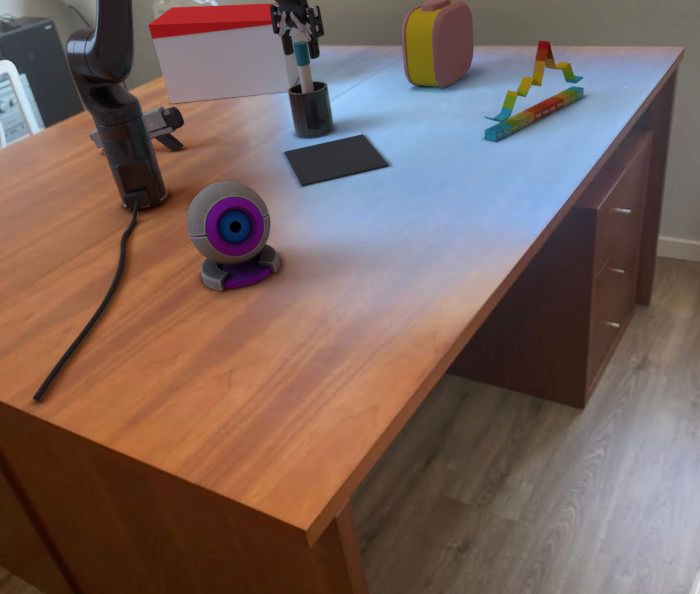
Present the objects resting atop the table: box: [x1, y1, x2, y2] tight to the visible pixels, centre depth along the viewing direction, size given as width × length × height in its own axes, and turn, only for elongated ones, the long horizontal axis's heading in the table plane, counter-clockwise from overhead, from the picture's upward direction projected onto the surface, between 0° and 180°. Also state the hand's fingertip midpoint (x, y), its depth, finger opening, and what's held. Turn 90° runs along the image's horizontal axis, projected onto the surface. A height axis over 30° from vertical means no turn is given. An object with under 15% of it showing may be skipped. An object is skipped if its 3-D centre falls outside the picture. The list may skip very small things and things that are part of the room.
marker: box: [293, 40, 314, 94], centre depth 163 cm, size 3×3×19 cm
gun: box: [88, 105, 185, 155], centre depth 171 cm, size 2×25×10 cm, turn 77°
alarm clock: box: [400, 0, 474, 89], centre depth 181 cm, size 18×11×19 cm, turn 144°
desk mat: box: [284, 133, 389, 187], centre depth 153 cm, size 20×18×1 cm
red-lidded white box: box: [147, 2, 300, 105], centre depth 202 cm, size 21×35×21 cm, turn 83°
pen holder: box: [287, 80, 335, 139], centre depth 166 cm, size 9×9×10 cm
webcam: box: [186, 180, 281, 291], centre depth 115 cm, size 13×13×15 cm
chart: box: [483, 40, 585, 142], centre depth 153 cm, size 30×3×15 cm, turn 131°
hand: (302, 56), depth 159 cm, fingers open, 8 cm apart
